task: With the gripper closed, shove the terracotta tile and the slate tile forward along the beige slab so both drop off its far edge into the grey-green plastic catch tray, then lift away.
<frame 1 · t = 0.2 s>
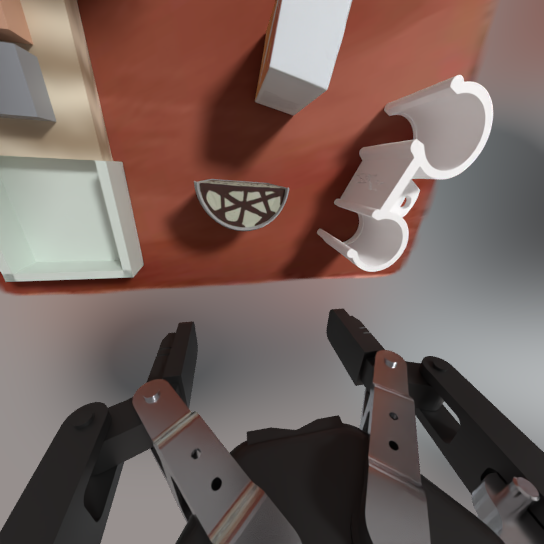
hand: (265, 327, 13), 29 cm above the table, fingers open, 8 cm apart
small box: (280, 77, 32), on the table
catch tray: (75, 217, 34), on the table
tile b: (16, 87, 25), point 3 cm above the table, touching beige slab
food container: (239, 200, 38), on the table
bracket: (366, 185, 41), on the table
beige slab: (26, 64, 26), on the table
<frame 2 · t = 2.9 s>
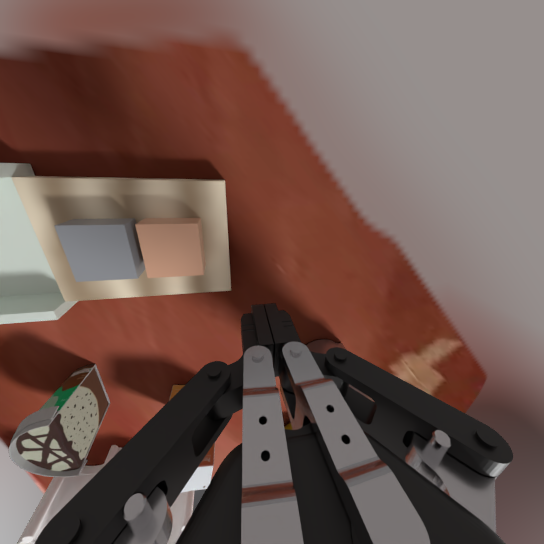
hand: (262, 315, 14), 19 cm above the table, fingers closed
tile a: (177, 243, 27), point 3 cm above the table, touching beige slab
small box: (194, 394, 42), on the table
tile b: (112, 245, 25), point 3 cm above the table, touching beige slab
food container: (83, 385, 37), on the table
bracket: (137, 456, 47), on the table
beige slab: (149, 236, 29), on the table
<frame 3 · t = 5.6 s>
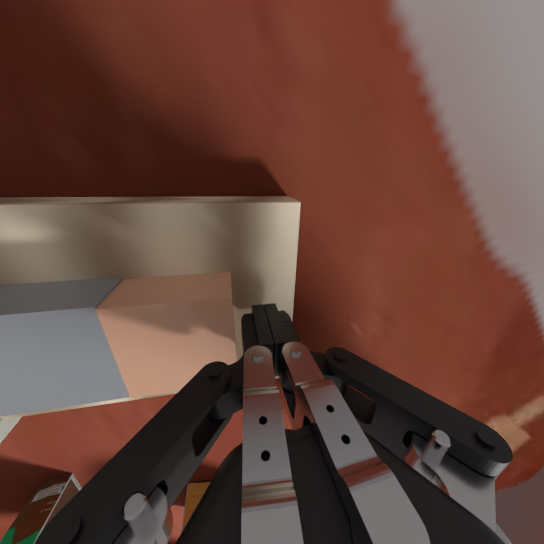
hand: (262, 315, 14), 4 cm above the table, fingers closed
tile a: (186, 317, 14), point 3 cm above the table, touching gripper, tile b
small box: (217, 489, 30), on the table
tile b: (81, 325, 13), point 3 cm above the table, touching tile a
food container: (55, 498, 25), on the table
beige slab: (152, 295, 16), on the table
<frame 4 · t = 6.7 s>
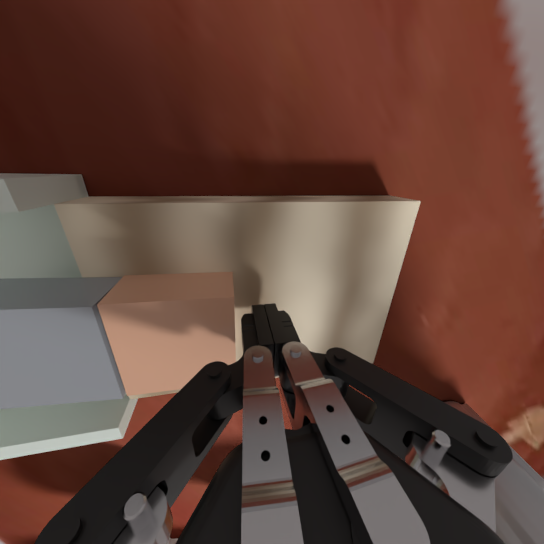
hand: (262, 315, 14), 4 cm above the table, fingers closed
tile a: (186, 315, 14), point 3 cm above the table, touching beige slab, gripper
tile b: (80, 322, 13), point 3 cm above the table, touching beige slab
beige slab: (257, 287, 18), on the table
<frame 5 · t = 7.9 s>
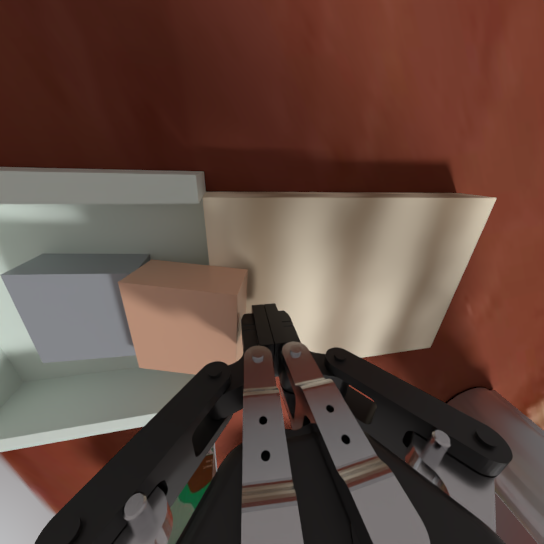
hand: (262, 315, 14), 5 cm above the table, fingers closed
tile a: (202, 305, 15), point 3 cm above the table, tilted 16°, touching beige slab, gripper
catch tray: (99, 293, 16), on the table
tile b: (109, 293, 16), point 1 cm above the table, touching catch tray
food container: (190, 462, 28), on the table
beige slab: (332, 276, 19), on the table
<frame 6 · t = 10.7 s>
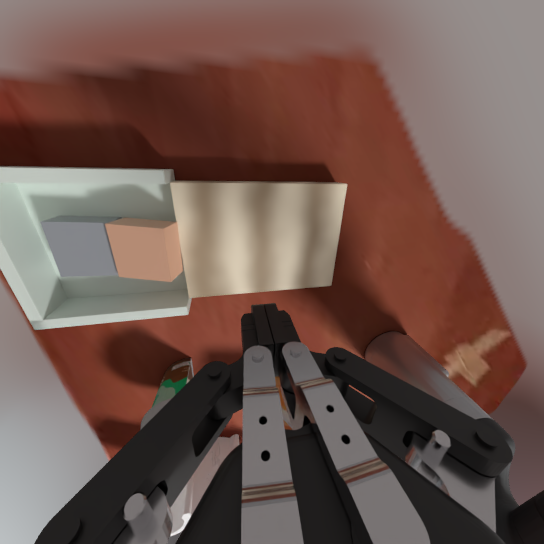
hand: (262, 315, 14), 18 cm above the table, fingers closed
tile a: (155, 245, 26), point 2 cm above the table, tilted 16°, touching beige slab, tile b
catch tray: (114, 242, 27), on the table
tile b: (98, 241, 26), point 1 cm above the table, touching catch tray, tile a
food container: (175, 378, 39), on the table
bracket: (211, 444, 49), on the table
beige slab: (261, 236, 30), on the table
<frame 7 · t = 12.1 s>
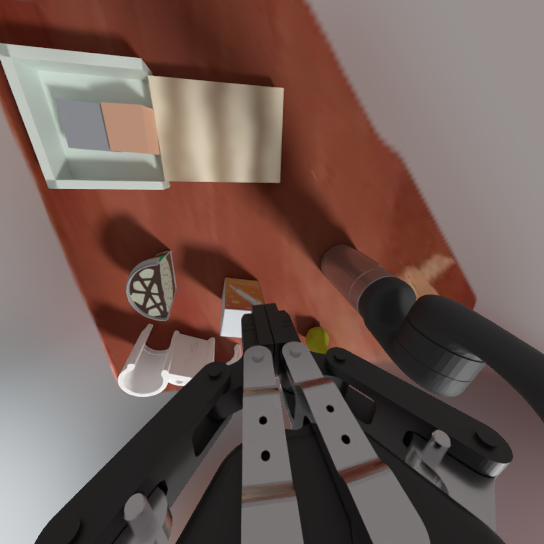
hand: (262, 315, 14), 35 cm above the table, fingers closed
tile a: (138, 131, 35), point 2 cm above the table, tilted 16°, touching beige slab, tile b
small box: (240, 289, 53), on the table
catch tray: (108, 132, 36), on the table
tile b: (96, 129, 35), point 1 cm above the table, touching catch tray, tile a
food container: (158, 270, 47), on the table
fruit: (313, 330, 63), on the table
bracket: (192, 346, 58), on the table
beige slab: (222, 138, 39), on the table
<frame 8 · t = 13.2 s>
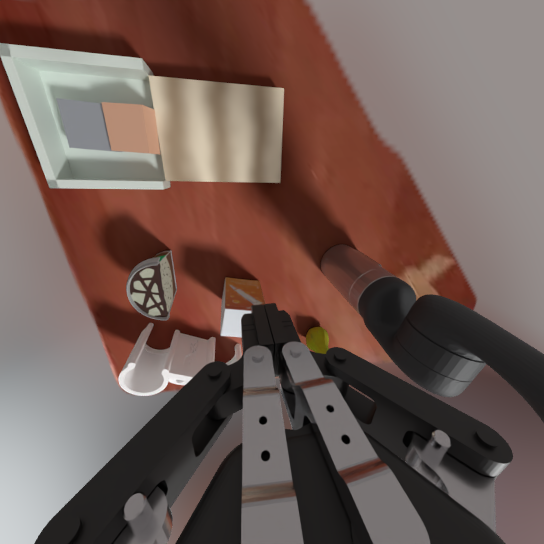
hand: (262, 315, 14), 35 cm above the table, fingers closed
tile a: (139, 131, 35), point 2 cm above the table, tilted 16°, touching beige slab, tile b
small box: (240, 289, 53), on the table
catch tray: (109, 132, 36), on the table
tile b: (97, 129, 35), point 1 cm above the table, touching catch tray, tile a
food container: (159, 270, 47), on the table
fruit: (313, 330, 63), on the table
bracket: (192, 346, 58), on the table
beige slab: (223, 138, 39), on the table
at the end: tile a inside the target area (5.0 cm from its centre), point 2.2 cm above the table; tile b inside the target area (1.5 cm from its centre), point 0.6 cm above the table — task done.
